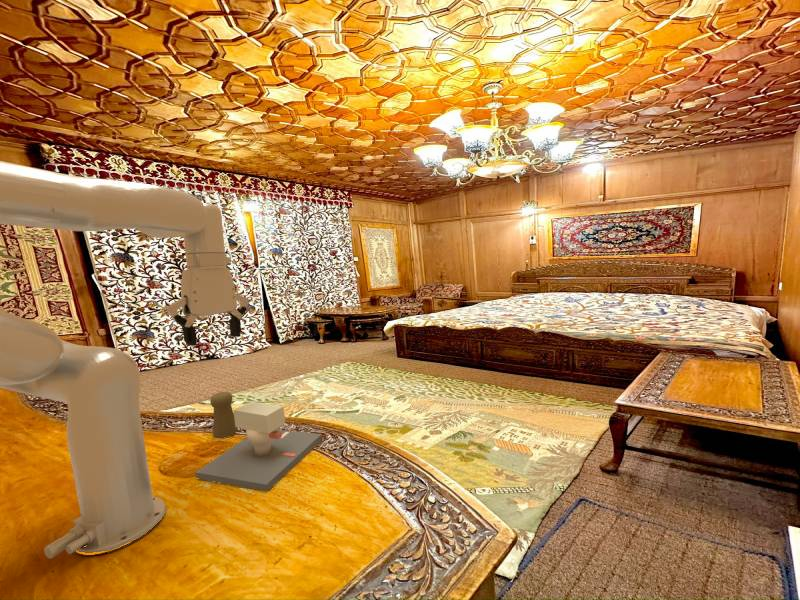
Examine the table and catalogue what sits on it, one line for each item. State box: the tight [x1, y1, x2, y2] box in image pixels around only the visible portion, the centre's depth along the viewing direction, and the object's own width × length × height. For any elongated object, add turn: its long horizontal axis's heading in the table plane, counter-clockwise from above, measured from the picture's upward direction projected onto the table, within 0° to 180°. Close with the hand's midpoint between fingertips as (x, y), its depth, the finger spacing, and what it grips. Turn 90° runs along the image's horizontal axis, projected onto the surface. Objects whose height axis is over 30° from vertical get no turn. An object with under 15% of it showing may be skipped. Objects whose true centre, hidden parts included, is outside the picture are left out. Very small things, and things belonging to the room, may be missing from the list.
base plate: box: [195, 428, 323, 493], centre depth 80 cm, size 20×18×4 cm
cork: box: [210, 391, 239, 439], centre depth 94 cm, size 6×6×11 cm
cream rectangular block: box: [232, 401, 286, 445], centre depth 80 cm, size 10×6×7 cm, turn 65°
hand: (214, 340), depth 78 cm, fingers open, 9 cm apart
